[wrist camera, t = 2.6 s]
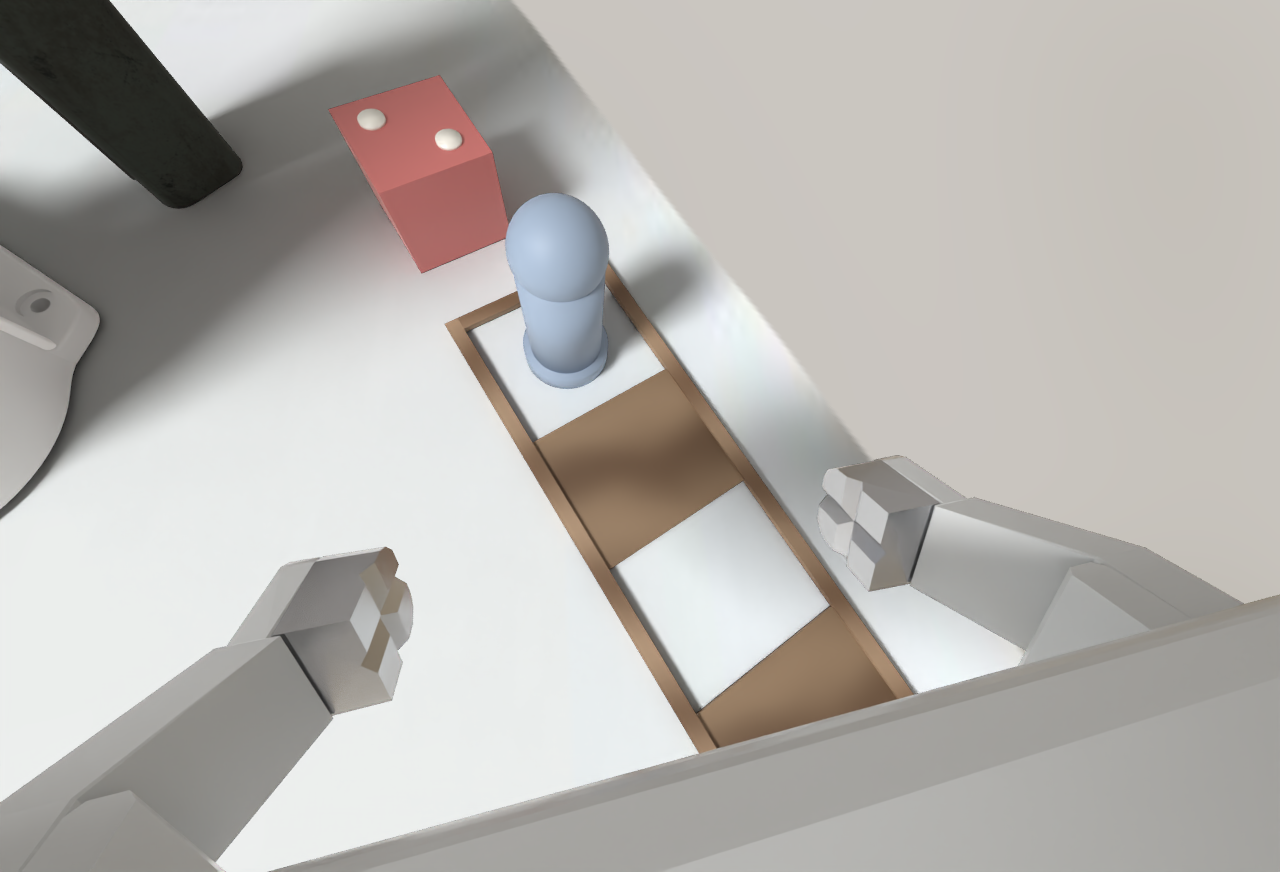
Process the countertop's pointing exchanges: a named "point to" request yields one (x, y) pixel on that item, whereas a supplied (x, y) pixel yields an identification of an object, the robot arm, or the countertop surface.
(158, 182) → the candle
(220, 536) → the countertop surface
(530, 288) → the pawn
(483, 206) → the die
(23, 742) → the countertop surface
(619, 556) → the game board
